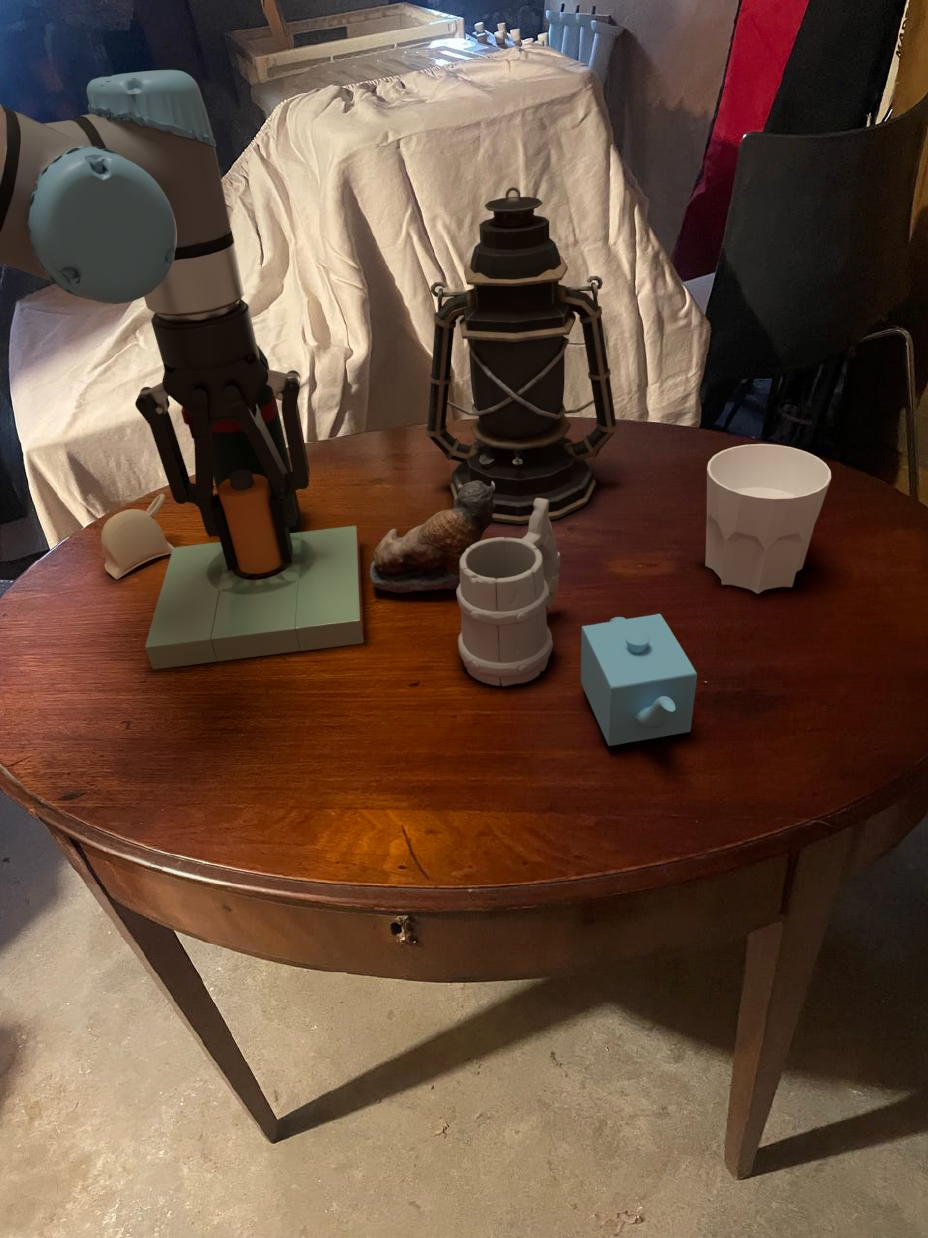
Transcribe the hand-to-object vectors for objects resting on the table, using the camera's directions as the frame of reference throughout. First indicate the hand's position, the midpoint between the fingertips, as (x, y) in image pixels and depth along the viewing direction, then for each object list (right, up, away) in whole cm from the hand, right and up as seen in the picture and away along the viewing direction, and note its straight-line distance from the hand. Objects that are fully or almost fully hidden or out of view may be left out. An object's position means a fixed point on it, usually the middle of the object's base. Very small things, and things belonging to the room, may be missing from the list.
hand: (260, 558), depth 82 cm
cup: (+46, -1, -1) cm, 46 cm away
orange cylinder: (0, 0, 0) cm, 0 cm away
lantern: (+25, +8, +14) cm, 30 cm away
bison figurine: (+16, -2, 0) cm, 17 cm away
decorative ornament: (-14, 0, +8) cm, 16 cm away
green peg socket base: (+1, -4, -1) cm, 4 cm away
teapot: (+32, -14, -17) cm, 38 cm away
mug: (+24, -8, -8) cm, 26 cm away
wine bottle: (-3, +4, +11) cm, 12 cm away
